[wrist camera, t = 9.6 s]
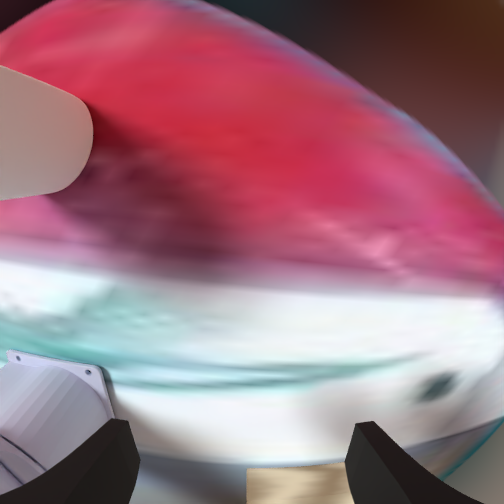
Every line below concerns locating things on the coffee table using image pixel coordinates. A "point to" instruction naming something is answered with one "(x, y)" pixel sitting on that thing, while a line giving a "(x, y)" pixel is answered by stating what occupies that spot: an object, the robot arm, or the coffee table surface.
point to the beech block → (299, 485)
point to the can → (40, 136)
